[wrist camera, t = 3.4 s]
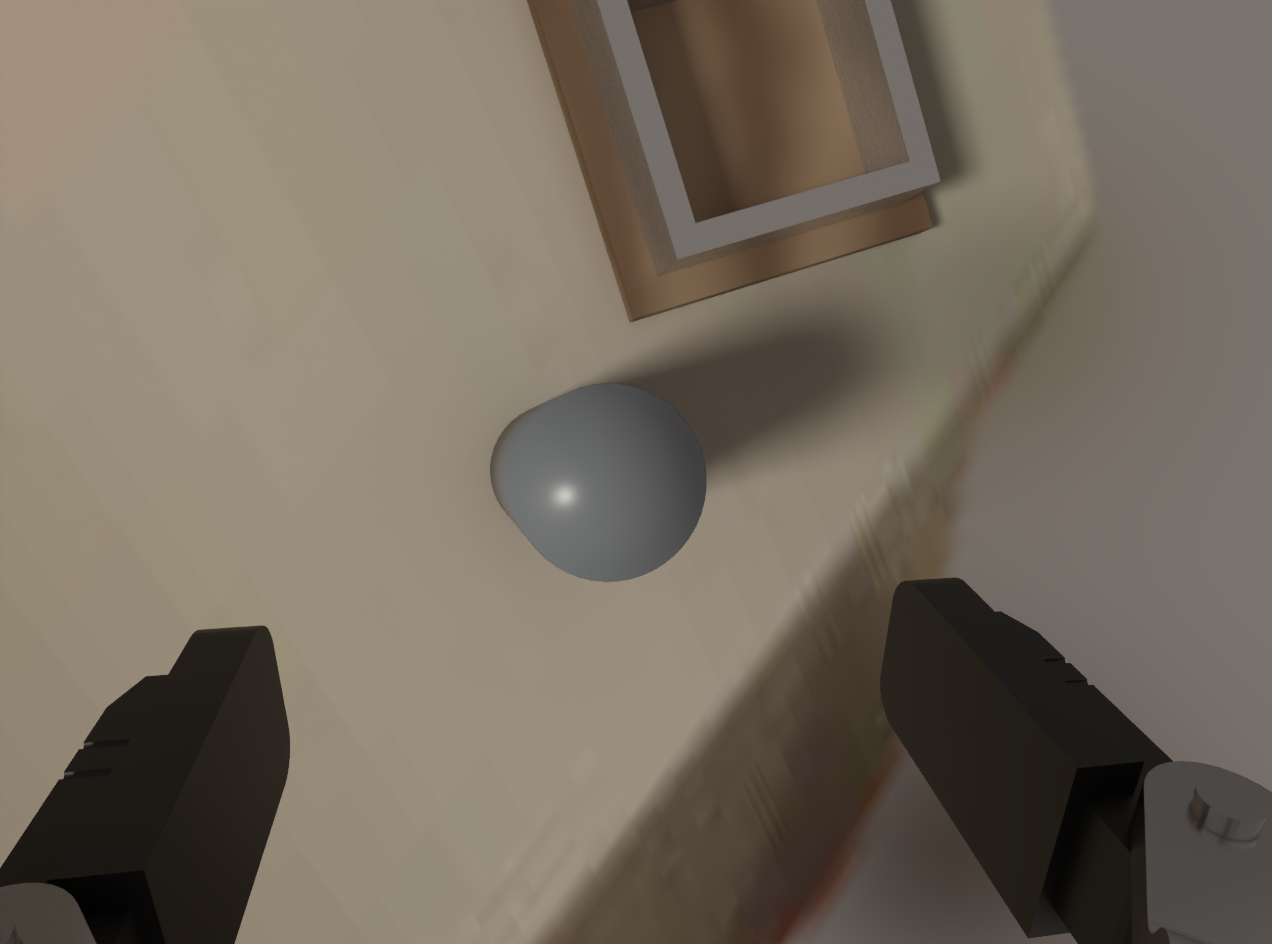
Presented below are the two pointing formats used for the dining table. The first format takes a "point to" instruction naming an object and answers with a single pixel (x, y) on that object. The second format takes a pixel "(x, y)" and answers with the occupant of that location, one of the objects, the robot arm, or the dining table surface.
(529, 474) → the grey capsule cylinder
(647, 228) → the collar
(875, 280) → the dining table surface
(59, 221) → the dining table surface
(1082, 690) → the robot arm
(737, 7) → the socket board
